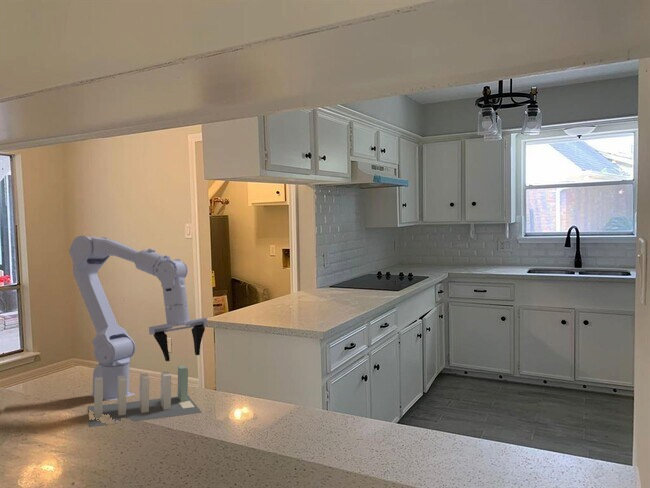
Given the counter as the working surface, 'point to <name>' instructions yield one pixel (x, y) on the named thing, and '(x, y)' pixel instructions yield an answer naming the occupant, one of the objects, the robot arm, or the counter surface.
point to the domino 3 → (144, 393)
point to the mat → (154, 412)
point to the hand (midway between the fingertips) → (182, 357)
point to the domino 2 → (121, 395)
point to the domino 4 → (165, 390)
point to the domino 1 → (98, 398)
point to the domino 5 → (182, 383)
